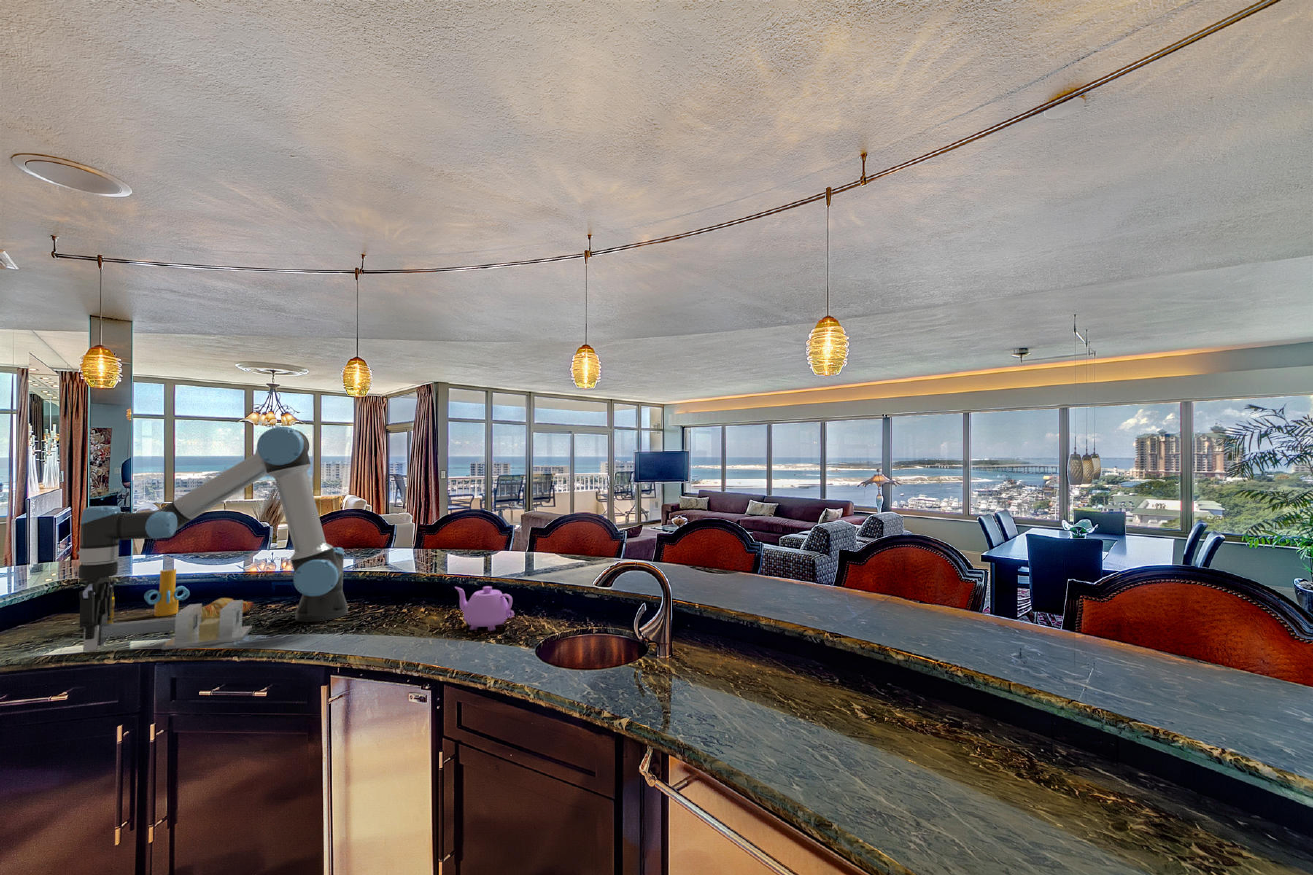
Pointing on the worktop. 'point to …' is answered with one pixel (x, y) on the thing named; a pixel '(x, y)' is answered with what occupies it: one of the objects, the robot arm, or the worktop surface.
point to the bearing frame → (189, 634)
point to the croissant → (215, 607)
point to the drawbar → (133, 627)
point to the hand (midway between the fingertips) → (94, 647)
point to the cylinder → (166, 594)
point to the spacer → (209, 628)
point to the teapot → (485, 608)
